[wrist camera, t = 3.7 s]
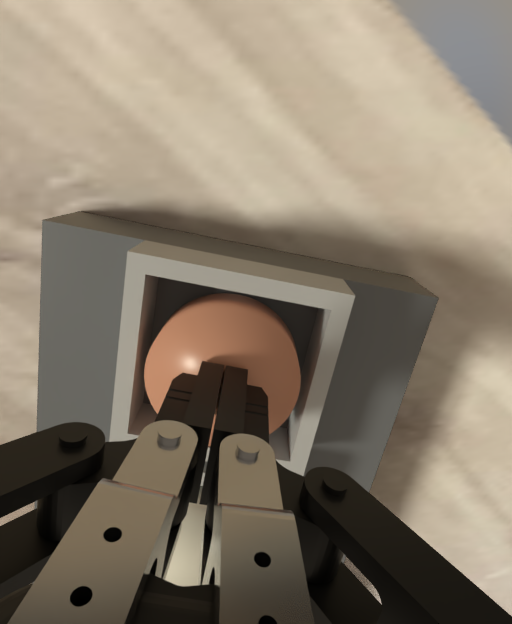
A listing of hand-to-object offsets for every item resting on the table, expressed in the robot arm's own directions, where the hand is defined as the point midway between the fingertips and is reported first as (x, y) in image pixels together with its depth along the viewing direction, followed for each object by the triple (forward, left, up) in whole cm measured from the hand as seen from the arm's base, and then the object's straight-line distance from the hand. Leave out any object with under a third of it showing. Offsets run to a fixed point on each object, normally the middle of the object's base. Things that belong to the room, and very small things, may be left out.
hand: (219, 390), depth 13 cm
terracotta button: (0, 0, -2) cm, 2 cm away
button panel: (+7, 0, -6) cm, 9 cm away
